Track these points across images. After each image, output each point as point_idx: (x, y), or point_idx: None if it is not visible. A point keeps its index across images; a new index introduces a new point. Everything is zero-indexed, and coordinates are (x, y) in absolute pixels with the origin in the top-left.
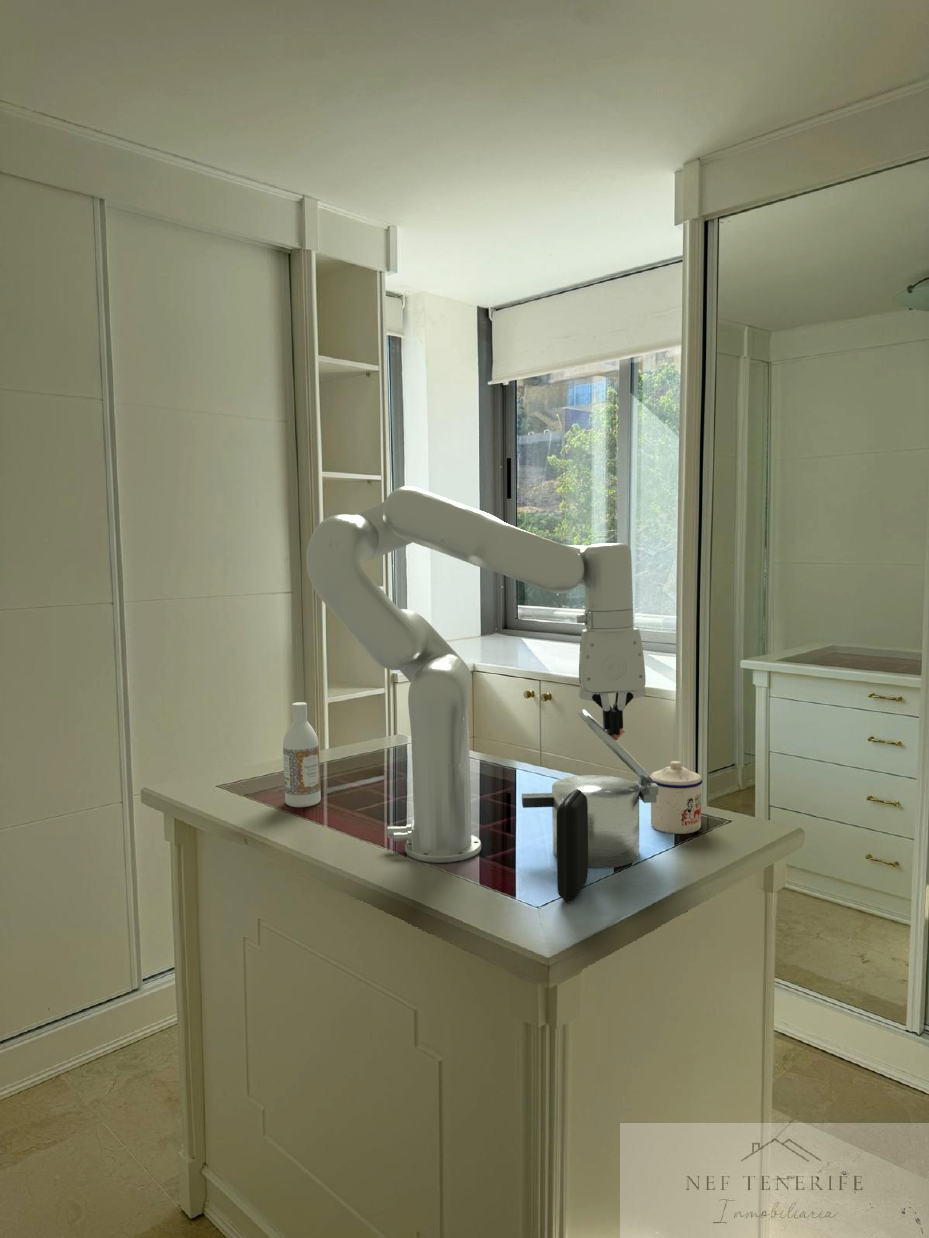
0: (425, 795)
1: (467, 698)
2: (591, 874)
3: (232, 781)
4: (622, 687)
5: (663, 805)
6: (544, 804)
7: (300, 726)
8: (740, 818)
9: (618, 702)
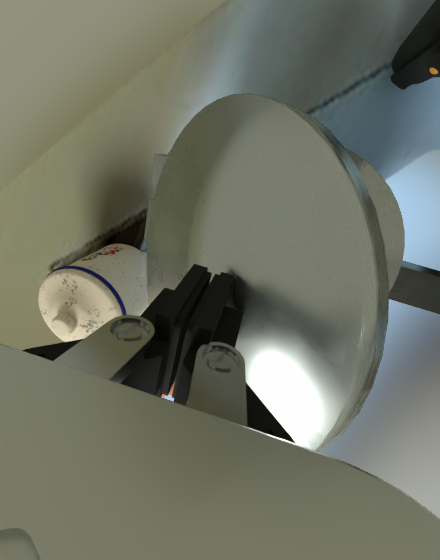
0: None
1: None
2: (348, 121)
3: None
4: (15, 385)
5: (132, 276)
6: (411, 264)
7: None
8: (36, 271)
9: (133, 351)
